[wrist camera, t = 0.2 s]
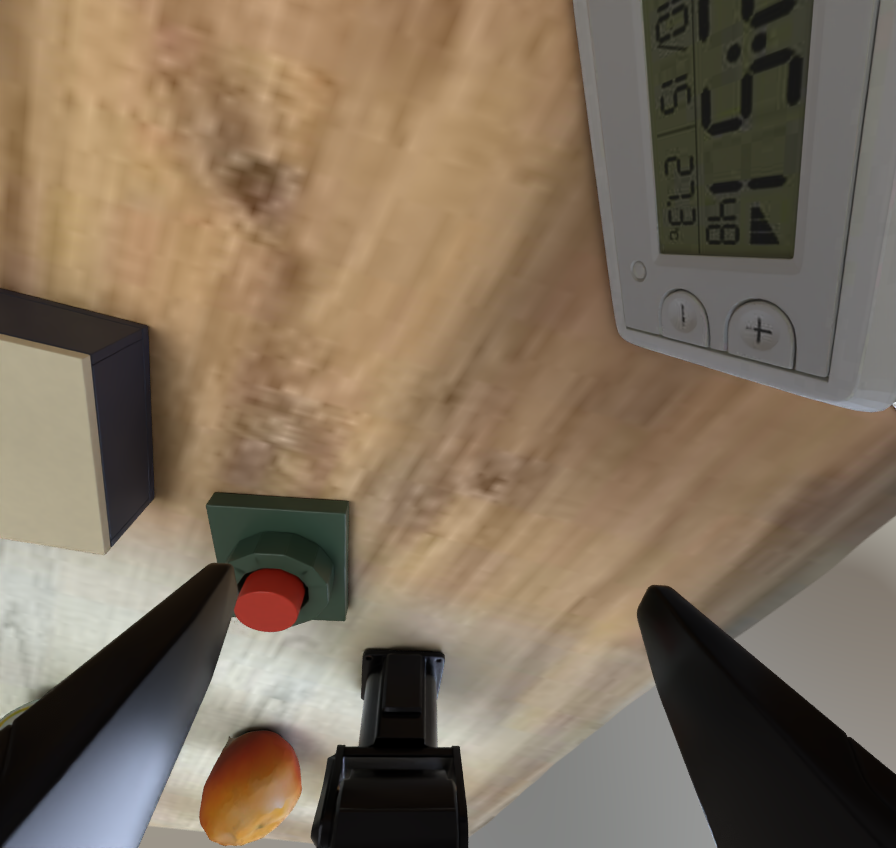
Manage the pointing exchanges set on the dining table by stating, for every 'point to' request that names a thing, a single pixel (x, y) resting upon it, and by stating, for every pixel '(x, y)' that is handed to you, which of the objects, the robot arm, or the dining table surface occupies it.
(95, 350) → the dark rimmed tray
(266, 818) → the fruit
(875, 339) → the digital clock
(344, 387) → the dining table surface
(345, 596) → the alarm box
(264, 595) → the alarm button
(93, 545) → the beige panel
